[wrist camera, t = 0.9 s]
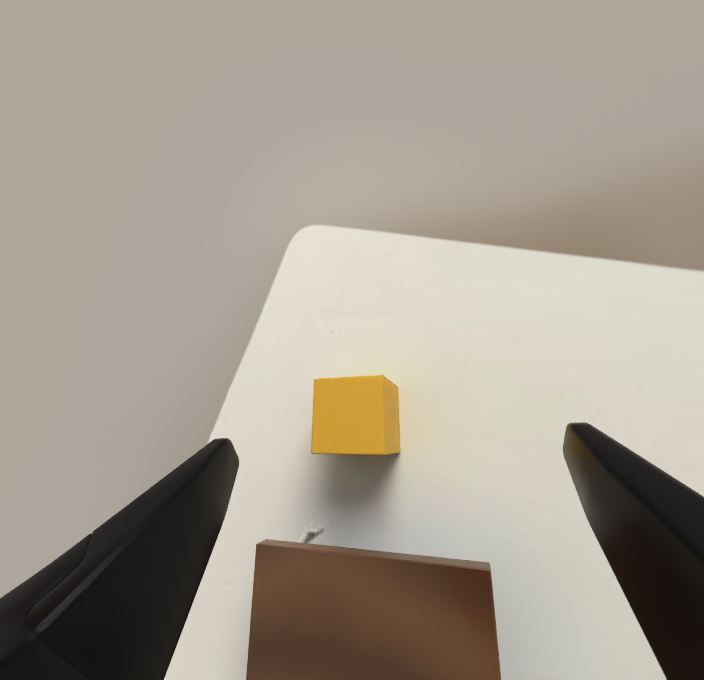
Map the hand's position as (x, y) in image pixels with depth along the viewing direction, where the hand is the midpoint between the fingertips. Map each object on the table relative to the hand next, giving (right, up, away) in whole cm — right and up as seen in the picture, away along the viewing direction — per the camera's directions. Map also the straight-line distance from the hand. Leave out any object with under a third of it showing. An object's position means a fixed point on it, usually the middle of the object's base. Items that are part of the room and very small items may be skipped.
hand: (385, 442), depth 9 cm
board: (0, -16, +10) cm, 19 cm away
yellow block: (0, -3, +18) cm, 18 cm away
